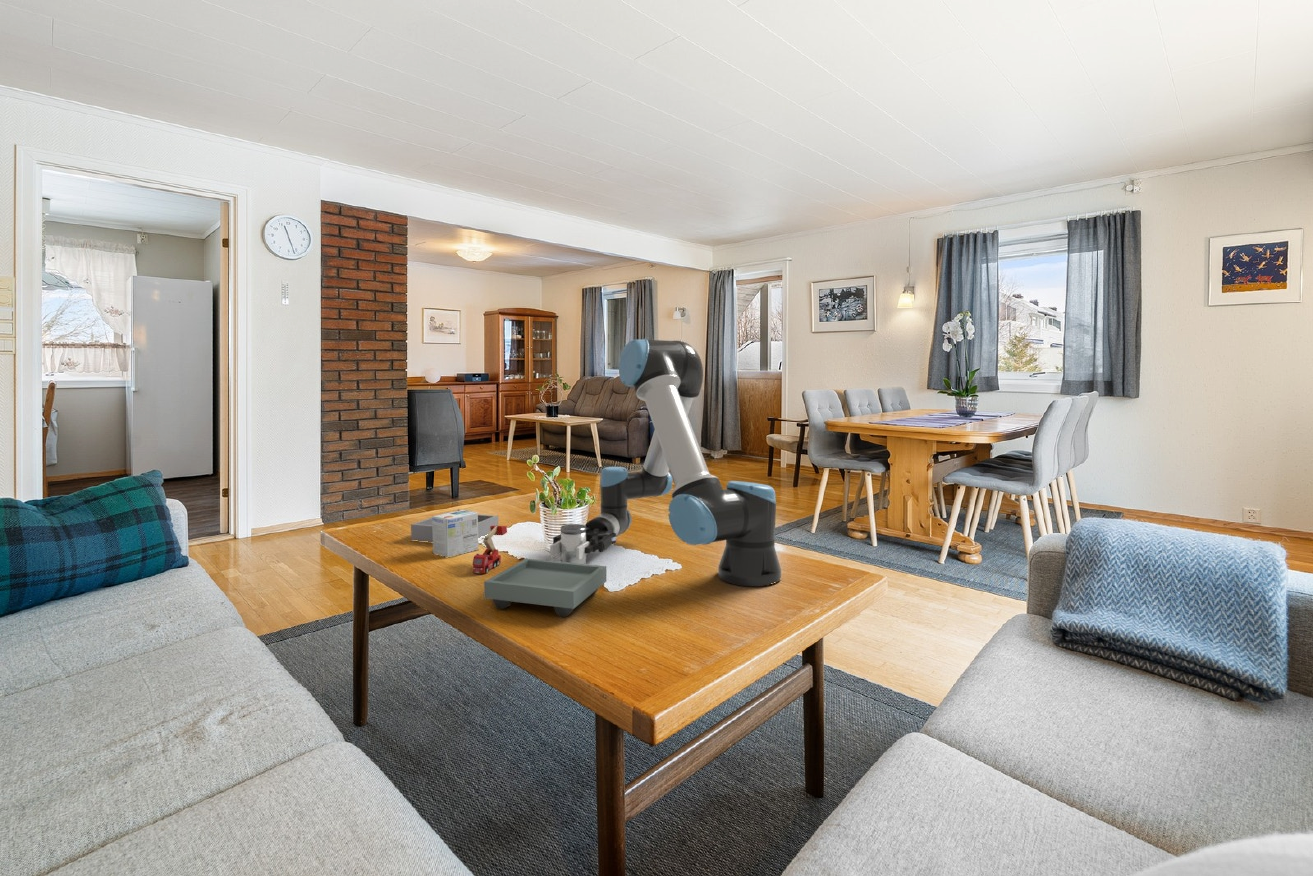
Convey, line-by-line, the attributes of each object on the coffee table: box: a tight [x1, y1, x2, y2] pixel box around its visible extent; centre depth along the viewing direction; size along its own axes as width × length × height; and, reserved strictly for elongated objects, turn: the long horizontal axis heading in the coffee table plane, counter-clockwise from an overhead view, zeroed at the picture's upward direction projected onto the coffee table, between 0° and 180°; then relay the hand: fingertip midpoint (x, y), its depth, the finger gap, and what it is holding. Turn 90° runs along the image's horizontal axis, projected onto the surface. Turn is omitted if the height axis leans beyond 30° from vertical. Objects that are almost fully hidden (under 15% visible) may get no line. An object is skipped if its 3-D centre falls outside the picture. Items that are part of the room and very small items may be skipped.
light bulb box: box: [431, 509, 479, 558], centre depth 178 cm, size 11×7×11 cm, turn 144°
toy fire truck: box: [472, 525, 508, 574], centre depth 164 cm, size 3×14×10 cm, turn 169°
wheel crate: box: [410, 511, 499, 542], centre depth 195 cm, size 18×18×5 cm
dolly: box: [483, 558, 607, 618], centre depth 140 cm, size 20×18×6 cm
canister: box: [560, 523, 587, 564], centre depth 158 cm, size 6×6×12 cm
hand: (564, 552), depth 153 cm, fingers closed on canister, 6 cm apart
